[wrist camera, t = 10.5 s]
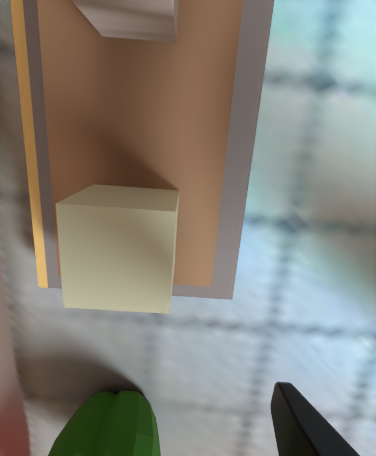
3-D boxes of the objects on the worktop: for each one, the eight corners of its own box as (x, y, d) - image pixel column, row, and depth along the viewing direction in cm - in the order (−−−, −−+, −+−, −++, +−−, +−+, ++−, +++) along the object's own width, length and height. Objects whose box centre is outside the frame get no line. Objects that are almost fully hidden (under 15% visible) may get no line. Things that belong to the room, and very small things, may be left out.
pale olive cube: (179, 190, 13) (175, 211, 9) (174, 267, 14) (169, 313, 11) (93, 184, 13) (55, 203, 9) (96, 262, 14) (63, 307, 11)
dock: (306, -343, 12) (343, -492, 9) (226, 277, 21) (232, 299, 18) (11, -379, 12) (-45, -543, 9) (58, 266, 21) (38, 286, 18)
